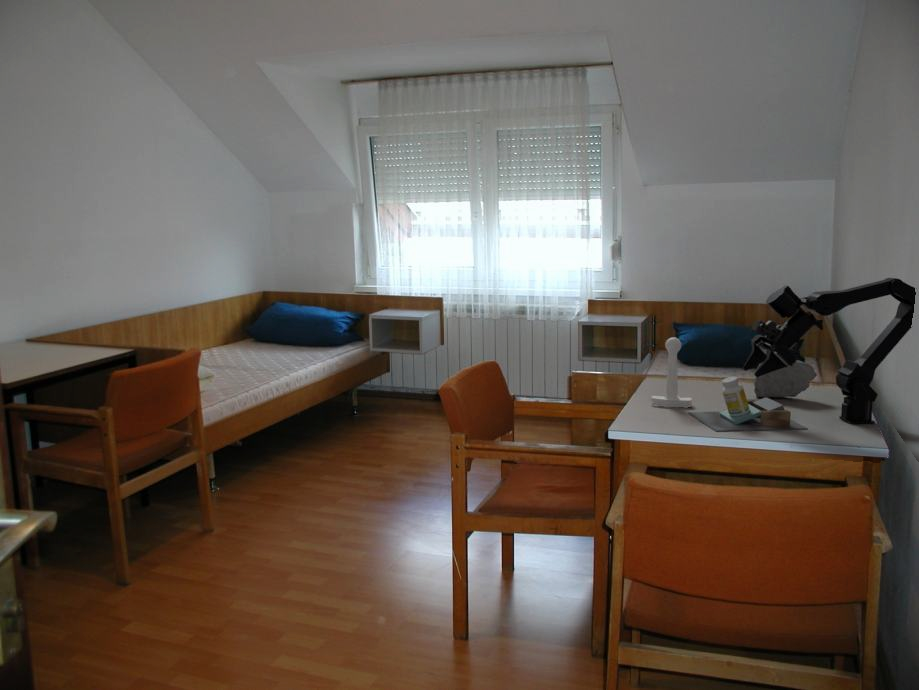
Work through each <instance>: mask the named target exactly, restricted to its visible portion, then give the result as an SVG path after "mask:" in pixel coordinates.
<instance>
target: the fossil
mask: <svg viewBox="0 0 919 690" xmlns="http://www.w3.org/2000/svg"><path fill="white" fill-rule="evenodd" d="M762 363H763V362H762ZM762 363H760V364H758V365H757V368H756V370H757V369H758V368H759V367H760V366H761V364H762ZM786 365H787V364H786ZM787 366H788V365H787ZM817 376H818V374H817V373H816V371H815V368H814V367H813V366H812V365H811V364H810V363H807V362H803V361H801V360H799V359H796V362H795V363H794V364H793V365H792V366H788V367H786V368H782V369H779V370H776V371H773V372H770V373H767V374H765V375H762V376H759V377H756V376H755V377H754V378H753V385H754V389H753V391H754V394H755V397H756V398H765V397H767V398H776V397H777V398H787V397H788V398H795V397H796V398H797V396H799V394H801V393H802V392H804V391H806V390H807V389H808V388H810V382H811V381H813V380H814V379H815V378H816V377H817Z"/></svg>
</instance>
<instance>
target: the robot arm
mask: <svg viewBox="0 0 919 690" xmlns="http://www.w3.org/2000/svg"><path fill="white" fill-rule="evenodd" d="M915 288H916V287H915V286H913V285H910V284H907V283H906V282H904V281H903V280H902V279H900V278H895V277H886V278H885V279H882V280H877V281H874V282H869V283H866V284H863V285H858V286H853V287H850V288H845V289H842V290H841V289H840V290H823V291H815V292H811V293H809V295H808V296H806V297H799V296H798V295H797V294H796V293H795V292H794V291H793V290H792V287H790V286H789V285H786V284H785V285H784V286H782V288H779V289H777V290H775V291H774V292H772V293H771V294H770V295H769V296H768V297H767V299H766V300H765V304H767V306H769V308H770V309H771V310H773V312H774V313H776V314H777V315H778V317H779V318H781V319H784V318H786V319H787V320H786V321H785V322H784V323H783V324H777V322H774V321H772V320H767V322H764V321H762V320H759V319H756V318H755V321H754V323H753V325H752V327H751V329H750V331H753V332H755V333H757V334H756V335H755V336H753V338H752V339H750V341H751V342H750V344H751V351H750V354H749V356H748V357H747V360H746V361H745V363H744V365H743V366H742V370H744V371H748V370H751V369H752V368H754V367H756V366H759V364H760V363H762V362H763V363H762V364H761V366H760V367H759V368H758V367H757V368H758V369H757V368H756V370H755V372H754V373H753V374H754V376H755V378H756V377H759V376H762V375H765V374H767V373H770V372H773V371H776V370H779V369H782V368H786V367H788V366H792V365H793V364H794V363H795V362H796V360H797V355H796V354H794V352H793V351H792V350H791V349H792V348H793V347H794V346H795V345H800V344H802V341H801V339H803V338H804V337H805V336H806V335H807V333H809V332H810V331H811V330H812V329H813V328H815V330H819V331H822V330H823V329H824V326H823V325H824V324H823V322H824V319H822V318H817V317H816V316H815V315H814V314H816V315H819V316H824V317H825V316H826V317H827V316H831V315H833V314H835V313H837V312H840V311H841V310H843V309H844V308H846V307H849V306H850V305H854V304H858V303H863V302H865V301H870V300H875V299H879V298H882V297H886V296H891V298H893V299H895V300H897V302H899V304H898V306H897V309H896V313H895V316H894V317H893V318H892V320H891V321H890V322H889V323H888V324H887V325H886V327H884V328H883V330H882V332H881V333H880V334H879V335H878V336H877V337H876V338H875V339H874V341H873V342H872V343H871V344H870V345H869V346H868V347H867V349H866V350H865V351H864V352H863V354H862V355H861V356H860V357H859V358H858V359H856V360H854V361H853V360H849V359H847V360H846V361H844V363H843V365H842V366H841V367H840V368H839V369H837V371H836V372H837V375H836V376H835V383H836V385H837V387H838V389H840V390H841V393H842V395H843V396H844V397H843V402H842V403H841V409H840V411H841V414H840V415H839V419H840V420H842V421H845V422H846V423H849V424H855V425H857V424H859V425H860V424H875V423H876V421H875V420H873V419H872V417H873V408H874V407H873V404H874V402H876V399H877V398H878V393H877V392H876V391H875V389H873V387H872V386H871V383H872V382H873V380H874V376H875V372H876V370H877V368H878V367H879V366H880V364H881V363H882V362H883V361H884V360H885V359H886V357H888V355H889V354H890V353H891V352H892V350H894V348H896V346H897V345H898V344H899V342H901V340H902V339H903V338H904V337H905V335H907V334H908V332H909V331H910V330H911V329H912V327H911V325H912V318H913V313H914V304H915V295H916V292H915ZM804 309H807V310H808V311H805V310H804ZM786 364H787V365H788V366H787V365H786Z"/></svg>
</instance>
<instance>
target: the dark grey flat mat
mask: <svg viewBox="0 0 919 690" xmlns="http://www.w3.org/2000/svg"><path fill="white" fill-rule="evenodd" d="M760 399H761V398H758V399H757V398H755V399H747V402H748V404H749V405H751V406H753V403H752V402H755V401H757V400H760ZM753 407H754V406H753ZM719 412H720V411H689V412H688V413H689V415H690V416H691V415H692V417H693V418H694V417H695V419H696V420H697V419H698V421H699V422H700V423H702V424H704V425H705V426H707V427H708V428H710V429H711V430H713V431H714V432H715V433H716V432H717V433H719V432H754V431H757V432H758V430H761V431H790V430H791V431H792V430H793V431H795V430H800V429H801V430H808V427H806V426H804V425H802V424H801V423H799V422H796V421H794V420H793V419H791V414H792V412H791V411H790V410H788V409H786V410H767V411H761V415H760V416H758V417H755V418H752V419H750V420H747V421H744V422H742V423H739V424H736V425H734V424H733V423H731V422H729V421H728V420H726V419H725V418H723V417H721V416H720V414H719ZM801 430H800V431H801Z"/></svg>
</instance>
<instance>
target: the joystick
mask: <svg viewBox="0 0 919 690" xmlns="http://www.w3.org/2000/svg"><path fill="white" fill-rule="evenodd" d="M664 345H665V346H664V347H665V349H666V350H667V353H668V360H667V361H668V363H667V373H666V385H665V394H664V395H665V396H659V395H652V396H651V401H650V402H651V406H652V405H657V406H656V407H659V406H665V407H664V408H669V407H684V408H683V409H689V408H688V407H691V408H692V405H693V404H692V401H693V398H692V397H680V395H679V386H678V385H679V383H678V353H679V352H680V350H681V348H682V341H680V339H679V338H677V337H674V336H673V337H670V338H668V339H667V340H666V341H665V344H664Z"/></svg>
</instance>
